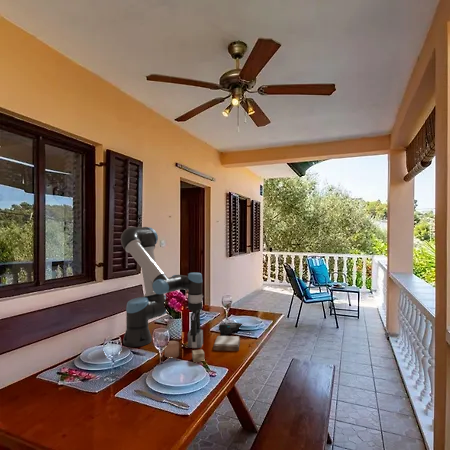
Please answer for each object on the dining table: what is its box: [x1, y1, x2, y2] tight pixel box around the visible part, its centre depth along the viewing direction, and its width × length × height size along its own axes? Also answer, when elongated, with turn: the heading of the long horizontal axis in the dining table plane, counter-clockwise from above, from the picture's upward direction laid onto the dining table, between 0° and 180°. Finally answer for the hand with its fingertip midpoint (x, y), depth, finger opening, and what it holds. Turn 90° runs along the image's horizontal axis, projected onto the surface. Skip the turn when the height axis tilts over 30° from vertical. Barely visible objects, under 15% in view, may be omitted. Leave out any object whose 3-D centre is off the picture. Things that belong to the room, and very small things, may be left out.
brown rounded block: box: [164, 340, 180, 359], centre depth 153 cm, size 7×7×6 cm
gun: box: [218, 322, 243, 336], centre depth 185 cm, size 4×20×10 cm, turn 146°
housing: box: [187, 328, 204, 349], centre depth 166 cm, size 7×6×8 cm
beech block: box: [191, 348, 205, 363], centre depth 147 cm, size 5×5×4 cm
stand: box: [212, 335, 241, 352], centre depth 165 cm, size 13×13×3 cm
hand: (195, 344), depth 166 cm, fingers open, 7 cm apart
